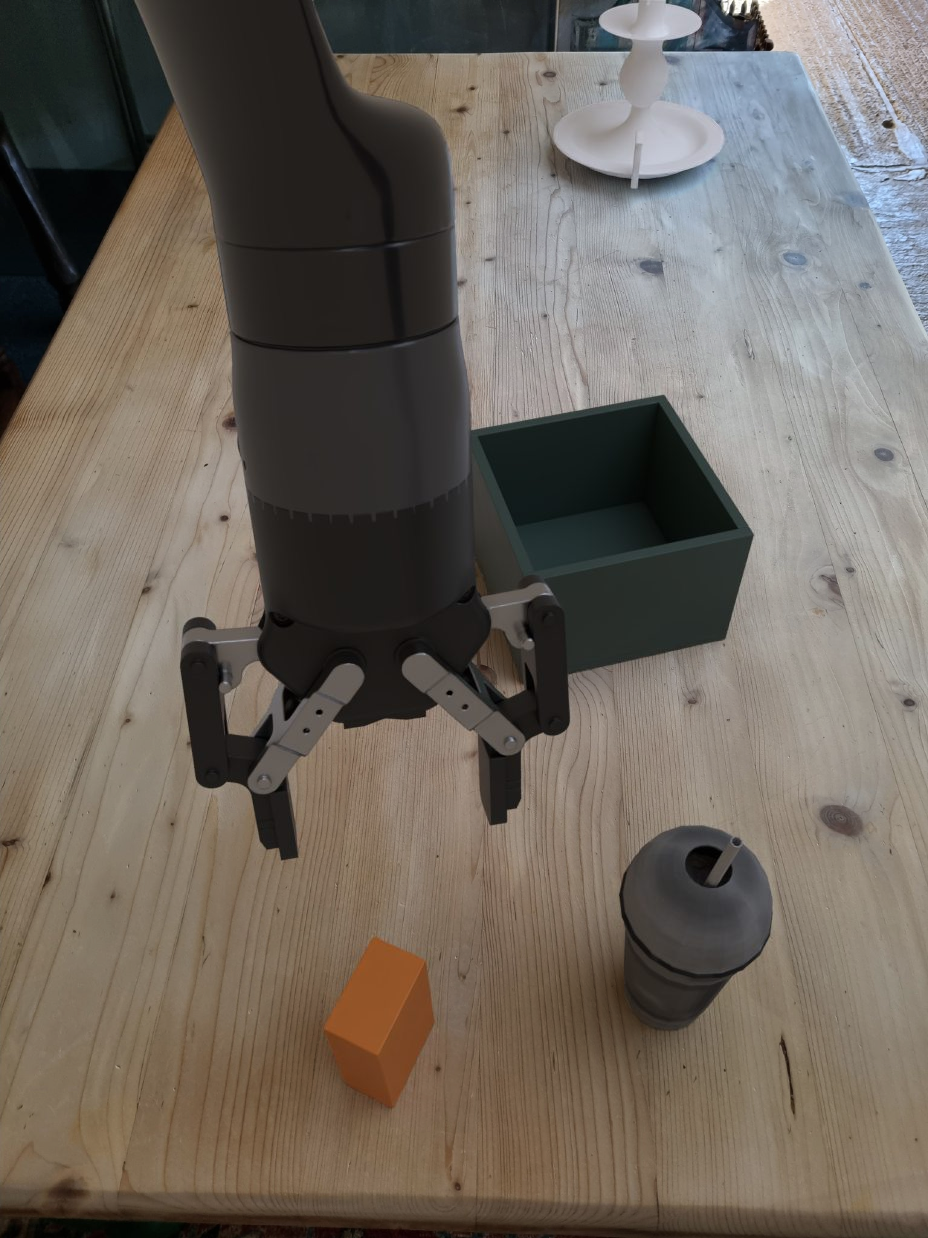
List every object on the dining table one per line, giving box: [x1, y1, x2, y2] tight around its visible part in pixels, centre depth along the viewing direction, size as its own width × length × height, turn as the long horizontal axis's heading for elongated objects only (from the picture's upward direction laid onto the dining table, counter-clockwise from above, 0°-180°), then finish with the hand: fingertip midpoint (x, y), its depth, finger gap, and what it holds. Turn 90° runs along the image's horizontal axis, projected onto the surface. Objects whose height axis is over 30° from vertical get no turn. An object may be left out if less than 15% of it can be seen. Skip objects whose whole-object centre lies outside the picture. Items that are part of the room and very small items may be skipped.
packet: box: [322, 936, 435, 1109], centre depth 51 cm, size 3×5×9 cm, turn 155°
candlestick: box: [552, 0, 725, 189], centre depth 110 cm, size 21×25×28 cm
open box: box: [471, 394, 755, 685], centre depth 73 cm, size 16×16×11 cm
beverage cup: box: [618, 824, 774, 1032], centre depth 49 cm, size 7×7×20 cm
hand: (393, 828), depth 41 cm, fingers open, 8 cm apart
